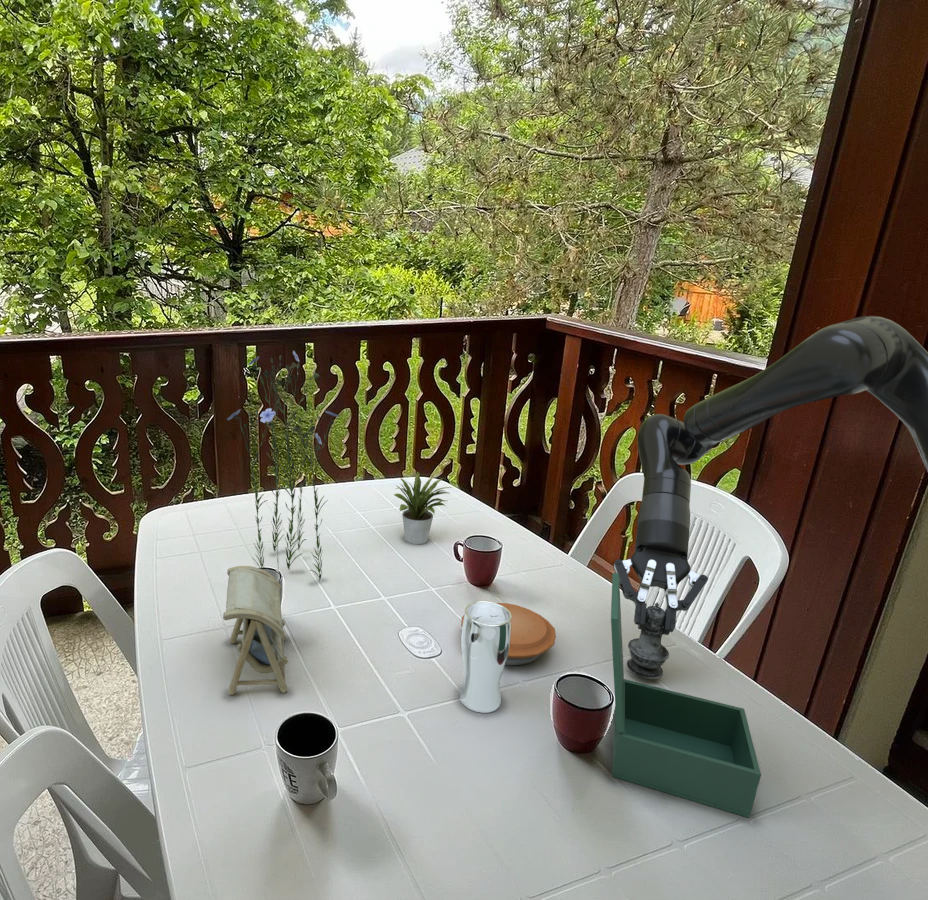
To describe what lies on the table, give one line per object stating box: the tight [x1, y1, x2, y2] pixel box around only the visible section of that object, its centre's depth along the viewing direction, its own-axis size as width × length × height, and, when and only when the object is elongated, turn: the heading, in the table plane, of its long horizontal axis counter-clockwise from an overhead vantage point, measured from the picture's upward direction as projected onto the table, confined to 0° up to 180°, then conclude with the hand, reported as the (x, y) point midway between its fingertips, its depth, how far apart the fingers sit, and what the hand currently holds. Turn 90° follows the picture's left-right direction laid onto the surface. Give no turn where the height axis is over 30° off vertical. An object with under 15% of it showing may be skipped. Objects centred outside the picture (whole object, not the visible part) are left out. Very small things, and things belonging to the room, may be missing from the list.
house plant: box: [393, 471, 453, 545], centre depth 144 cm, size 14×14×16 cm
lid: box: [610, 572, 625, 732], centre depth 83 cm, size 16×12×1 cm
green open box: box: [611, 678, 762, 819], centre depth 83 cm, size 15×12×7 cm
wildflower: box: [226, 350, 340, 582], centre depth 128 cm, size 22×23×45 cm
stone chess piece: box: [626, 602, 670, 680], centre depth 99 cm, size 6×6×12 cm
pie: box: [461, 602, 557, 666], centre depth 108 cm, size 15×16×5 cm
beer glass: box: [459, 600, 512, 714], centre depth 94 cm, size 7×7×15 cm
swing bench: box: [222, 565, 289, 696], centre depth 101 cm, size 15×10×15 cm, turn 6°
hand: (653, 630), depth 97 cm, fingers closed on stone chess piece, 3 cm apart
